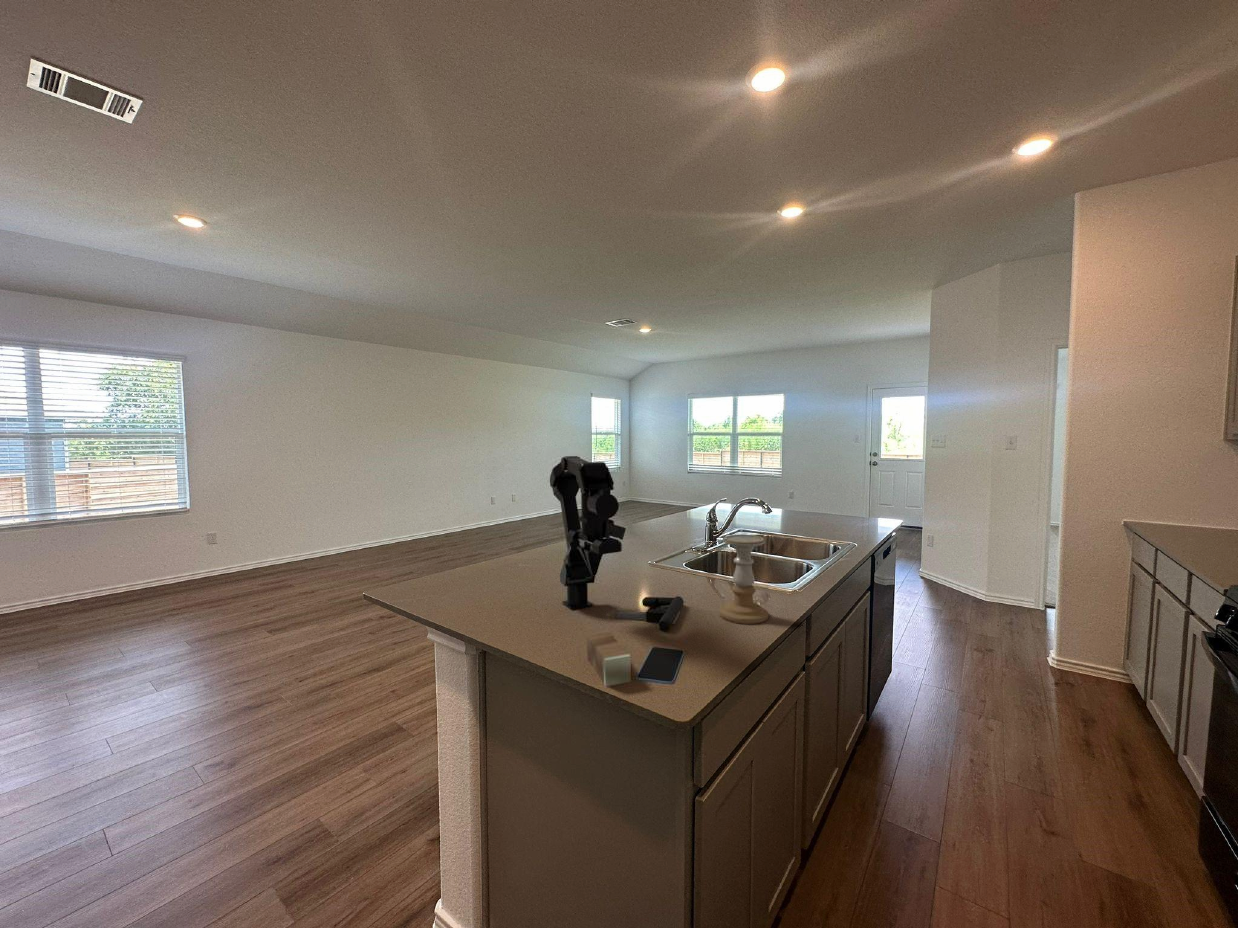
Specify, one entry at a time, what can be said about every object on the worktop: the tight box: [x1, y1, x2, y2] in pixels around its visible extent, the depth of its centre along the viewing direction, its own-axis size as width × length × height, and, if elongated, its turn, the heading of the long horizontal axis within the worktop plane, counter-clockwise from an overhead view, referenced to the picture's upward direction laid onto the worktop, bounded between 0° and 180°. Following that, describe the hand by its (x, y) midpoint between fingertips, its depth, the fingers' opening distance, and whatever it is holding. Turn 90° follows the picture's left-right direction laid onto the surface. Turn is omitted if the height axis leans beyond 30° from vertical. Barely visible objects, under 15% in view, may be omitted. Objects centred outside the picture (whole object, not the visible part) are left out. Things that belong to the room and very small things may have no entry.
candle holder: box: [718, 534, 769, 625], centre depth 129 cm, size 12×12×20 cm
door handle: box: [616, 595, 687, 632], centre depth 130 cm, size 3×20×16 cm
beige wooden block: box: [586, 632, 632, 687], centre depth 100 cm, size 5×5×12 cm
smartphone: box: [636, 646, 685, 685], centre depth 102 cm, size 7×1×15 cm
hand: (593, 574), depth 125 cm, fingers closed
